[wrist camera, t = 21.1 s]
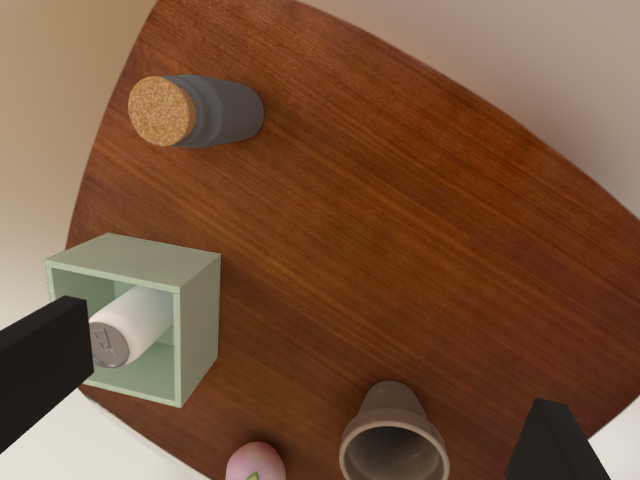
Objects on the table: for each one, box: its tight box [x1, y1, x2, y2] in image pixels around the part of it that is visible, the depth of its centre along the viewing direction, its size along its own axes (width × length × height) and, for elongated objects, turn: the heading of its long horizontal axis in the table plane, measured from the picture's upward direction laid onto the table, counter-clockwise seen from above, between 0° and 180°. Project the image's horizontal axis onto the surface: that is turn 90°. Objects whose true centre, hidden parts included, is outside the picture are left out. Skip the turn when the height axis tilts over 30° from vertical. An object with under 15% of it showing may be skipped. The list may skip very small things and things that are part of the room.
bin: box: [44, 233, 221, 408], centre depth 46 cm, size 16×16×10 cm
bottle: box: [128, 74, 264, 148], centre depth 33 cm, size 6×6×15 cm
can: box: [89, 285, 174, 370], centre depth 43 cm, size 6×6×12 cm
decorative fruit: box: [225, 442, 286, 480], centre depth 51 cm, size 9×8×10 cm
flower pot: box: [339, 381, 450, 480], centre depth 44 cm, size 12×11×10 cm
